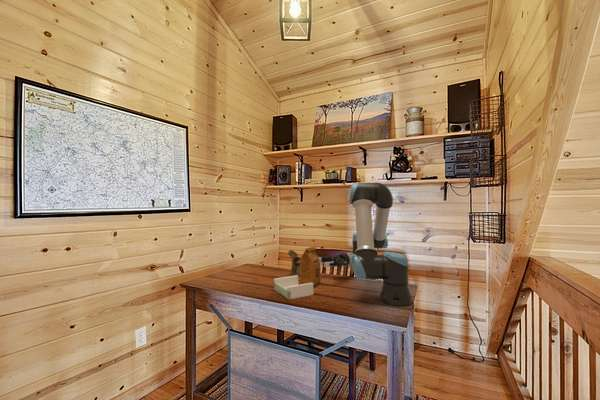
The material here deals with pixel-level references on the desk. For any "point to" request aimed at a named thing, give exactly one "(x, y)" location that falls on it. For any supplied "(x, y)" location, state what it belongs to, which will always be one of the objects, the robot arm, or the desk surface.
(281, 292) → the tray
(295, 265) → the wooden mug
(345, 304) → the desk surface
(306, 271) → the coffee package
